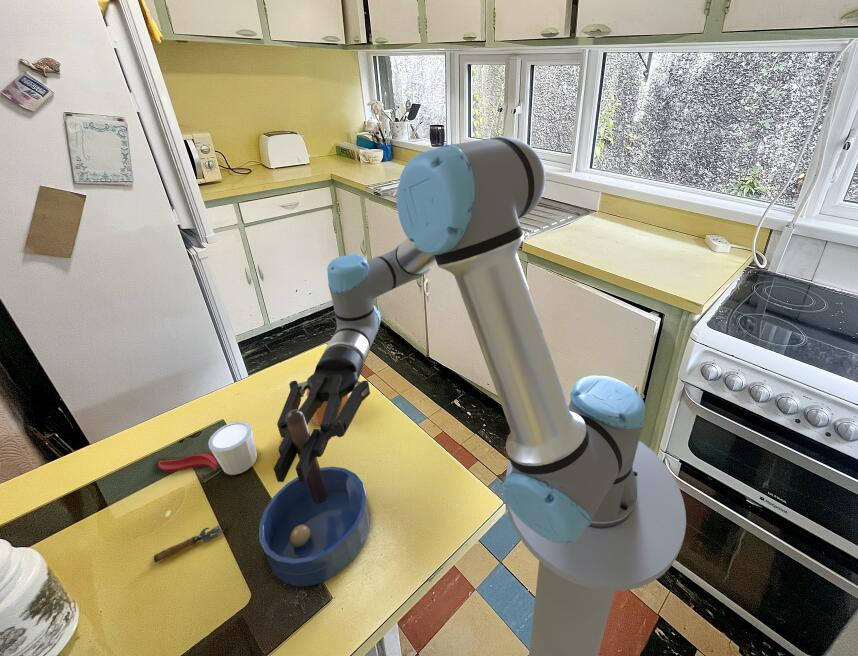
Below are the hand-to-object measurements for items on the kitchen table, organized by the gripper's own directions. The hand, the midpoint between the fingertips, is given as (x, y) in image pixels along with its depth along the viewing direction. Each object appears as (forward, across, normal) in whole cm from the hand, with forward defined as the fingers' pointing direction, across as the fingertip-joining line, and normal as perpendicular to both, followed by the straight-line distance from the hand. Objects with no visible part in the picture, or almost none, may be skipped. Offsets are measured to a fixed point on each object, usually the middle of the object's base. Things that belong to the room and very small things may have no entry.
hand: (289, 474), depth 55 cm
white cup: (-17, +20, -19) cm, 33 cm away
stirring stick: (-6, 0, -13) cm, 14 cm away
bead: (-2, +3, -18) cm, 18 cm away
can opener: (-2, +20, -19) cm, 27 cm away
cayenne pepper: (-17, +29, -19) cm, 39 cm away
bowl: (-4, 0, -19) cm, 19 cm away
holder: (-29, +7, -19) cm, 35 cm away
